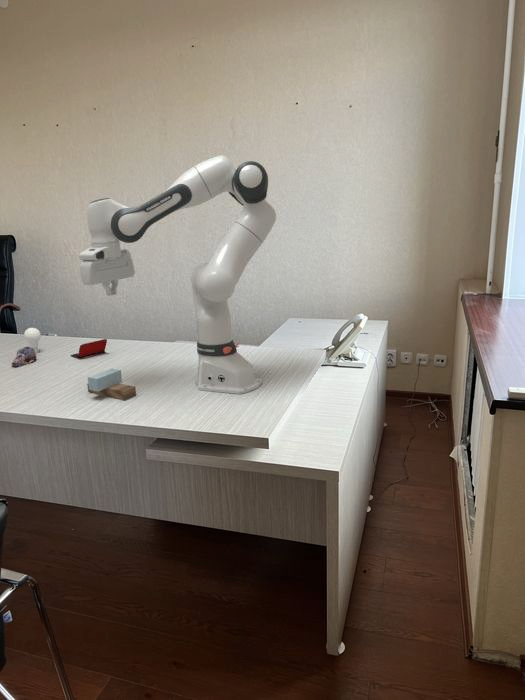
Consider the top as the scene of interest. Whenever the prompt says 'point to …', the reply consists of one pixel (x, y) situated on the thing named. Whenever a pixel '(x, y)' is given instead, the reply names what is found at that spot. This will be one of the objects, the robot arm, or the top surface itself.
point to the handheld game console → (91, 349)
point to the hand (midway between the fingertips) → (111, 294)
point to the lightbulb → (32, 338)
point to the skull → (24, 356)
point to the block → (104, 379)
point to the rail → (117, 391)
